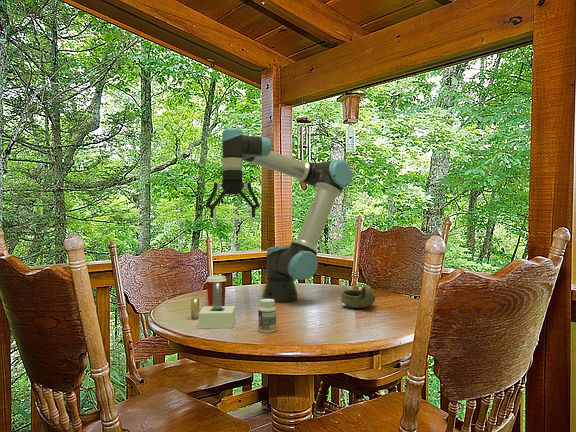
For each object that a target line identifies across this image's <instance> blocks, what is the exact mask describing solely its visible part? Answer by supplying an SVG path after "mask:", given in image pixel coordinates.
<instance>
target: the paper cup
mask: <svg viewBox="0 0 576 432" xmlns="http://www.w3.org/2000/svg"><path fill="white" fill-rule="evenodd" d="M226 281H227V279H226V276H225V275H210V276H207V278H206V280H205V282H206V289H207V303H208V305H207V306H213V283H222V306H226V305H225V304H226V286H227V285H226V284H227V282H226Z"/></svg>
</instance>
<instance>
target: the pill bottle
mask: <svg viewBox="0 0 576 432" xmlns="http://www.w3.org/2000/svg"><path fill="white" fill-rule="evenodd" d="M275 304H276V302H275V300H274V299H263V298H262V299H260V300H259V305H260V306H259V307H258V309H257V310H258V331H259V332H260V333H264V334H267V333H268V334H269V333H274V332H275V331H276V330H277V307H275Z"/></svg>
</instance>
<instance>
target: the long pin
mask: <svg viewBox="0 0 576 432" xmlns="http://www.w3.org/2000/svg"><path fill="white" fill-rule="evenodd" d="M213 311H222V283H213Z"/></svg>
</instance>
